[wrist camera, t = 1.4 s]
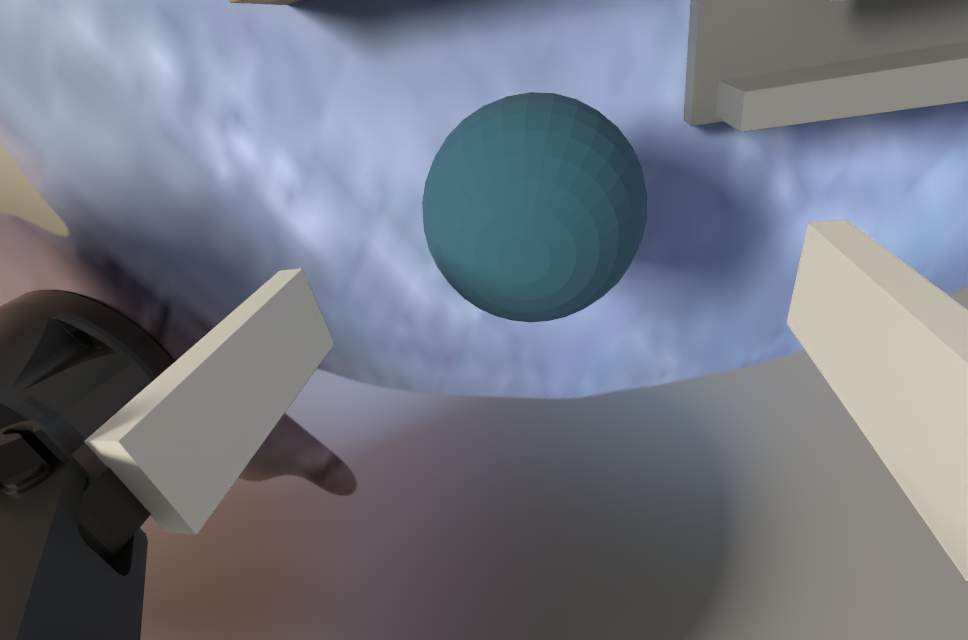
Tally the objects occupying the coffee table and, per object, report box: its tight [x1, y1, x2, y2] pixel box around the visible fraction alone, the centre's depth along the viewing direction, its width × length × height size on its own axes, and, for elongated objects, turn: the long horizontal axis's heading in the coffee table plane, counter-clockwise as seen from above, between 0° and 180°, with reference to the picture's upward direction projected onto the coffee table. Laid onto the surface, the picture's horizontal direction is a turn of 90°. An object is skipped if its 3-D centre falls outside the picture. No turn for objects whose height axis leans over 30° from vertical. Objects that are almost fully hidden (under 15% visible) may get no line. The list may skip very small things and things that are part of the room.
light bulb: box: [422, 92, 647, 322], centre depth 19 cm, size 8×8×12 cm
